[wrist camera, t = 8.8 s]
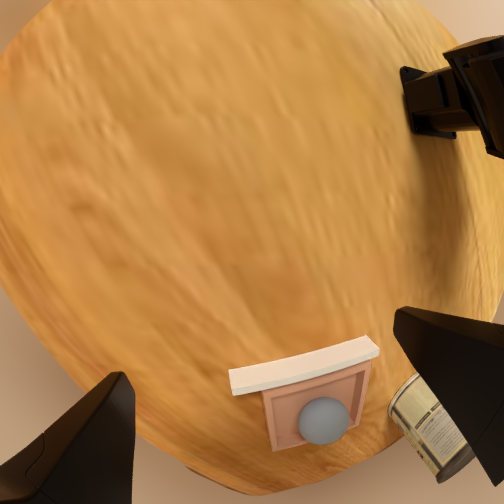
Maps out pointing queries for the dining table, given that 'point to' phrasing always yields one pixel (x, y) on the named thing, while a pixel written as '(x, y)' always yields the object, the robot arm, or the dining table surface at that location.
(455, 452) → the coffee can
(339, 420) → the ball
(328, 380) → the dish
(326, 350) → the wall
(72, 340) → the dining table surface
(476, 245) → the dining table surface
